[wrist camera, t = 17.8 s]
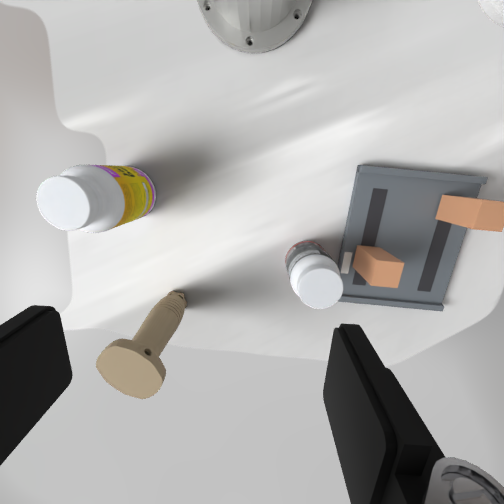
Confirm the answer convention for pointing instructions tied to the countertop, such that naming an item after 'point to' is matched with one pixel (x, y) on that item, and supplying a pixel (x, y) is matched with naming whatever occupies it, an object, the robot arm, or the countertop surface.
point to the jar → (493, 10)
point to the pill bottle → (313, 275)
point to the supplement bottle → (95, 197)
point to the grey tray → (404, 234)
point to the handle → (143, 351)
